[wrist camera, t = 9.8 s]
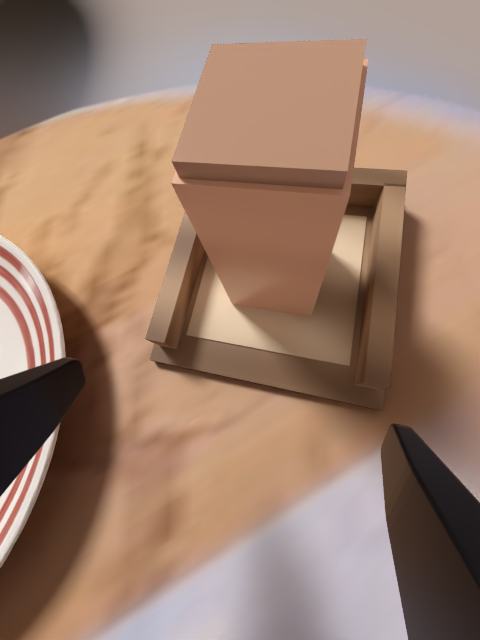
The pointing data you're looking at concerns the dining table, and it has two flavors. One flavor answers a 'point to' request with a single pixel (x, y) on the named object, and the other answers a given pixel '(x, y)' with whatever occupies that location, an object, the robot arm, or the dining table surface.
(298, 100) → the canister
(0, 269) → the dinner plate
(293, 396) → the dining table surface
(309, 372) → the square wooden tray
